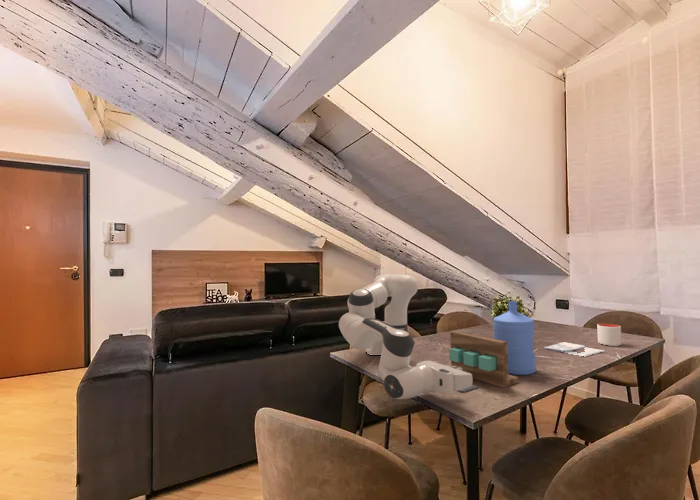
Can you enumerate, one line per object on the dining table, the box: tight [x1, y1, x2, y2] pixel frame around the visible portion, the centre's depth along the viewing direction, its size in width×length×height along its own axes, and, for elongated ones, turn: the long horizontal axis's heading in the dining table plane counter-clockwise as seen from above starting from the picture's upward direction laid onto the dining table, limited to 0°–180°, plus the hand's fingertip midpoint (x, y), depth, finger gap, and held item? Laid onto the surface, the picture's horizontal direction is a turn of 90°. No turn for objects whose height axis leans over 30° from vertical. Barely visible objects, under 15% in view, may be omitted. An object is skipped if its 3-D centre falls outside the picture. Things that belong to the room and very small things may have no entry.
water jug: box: [492, 300, 537, 376], centre depth 151 cm, size 16×16×28 cm
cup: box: [596, 323, 622, 347], centre depth 189 cm, size 10×10×10 cm
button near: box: [479, 354, 497, 371], centre depth 134 cm, size 7×4×4 cm, turn 123°
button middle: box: [463, 350, 481, 367], centre depth 140 cm, size 7×4×4 cm, turn 123°
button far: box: [448, 347, 466, 363], centre depth 146 cm, size 7×4×4 cm, turn 123°
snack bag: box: [543, 341, 607, 358], centre depth 179 cm, size 19×20×2 cm
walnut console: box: [449, 330, 519, 388], centre depth 143 cm, size 9×24×16 cm, turn 33°
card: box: [457, 384, 479, 394], centre depth 134 cm, size 8×14×1 cm, turn 33°
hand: (459, 369), depth 125 cm, fingers closed
